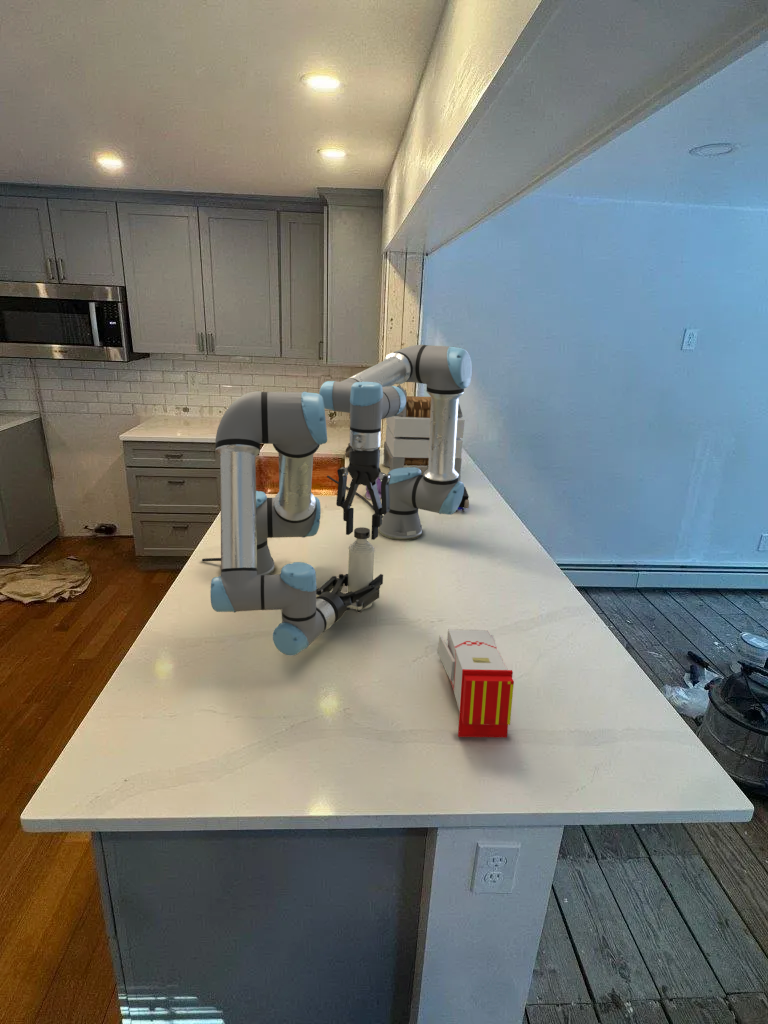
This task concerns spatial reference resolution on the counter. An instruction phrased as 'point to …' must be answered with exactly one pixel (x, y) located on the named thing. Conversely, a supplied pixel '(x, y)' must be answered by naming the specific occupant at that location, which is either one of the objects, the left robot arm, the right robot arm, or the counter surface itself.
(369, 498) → the figurine
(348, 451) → the fossil
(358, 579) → the bottle
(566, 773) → the counter surface
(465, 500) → the figurine character
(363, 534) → the cap
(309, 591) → the left robot arm
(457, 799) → the counter surface
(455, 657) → the toy
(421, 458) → the transformer
